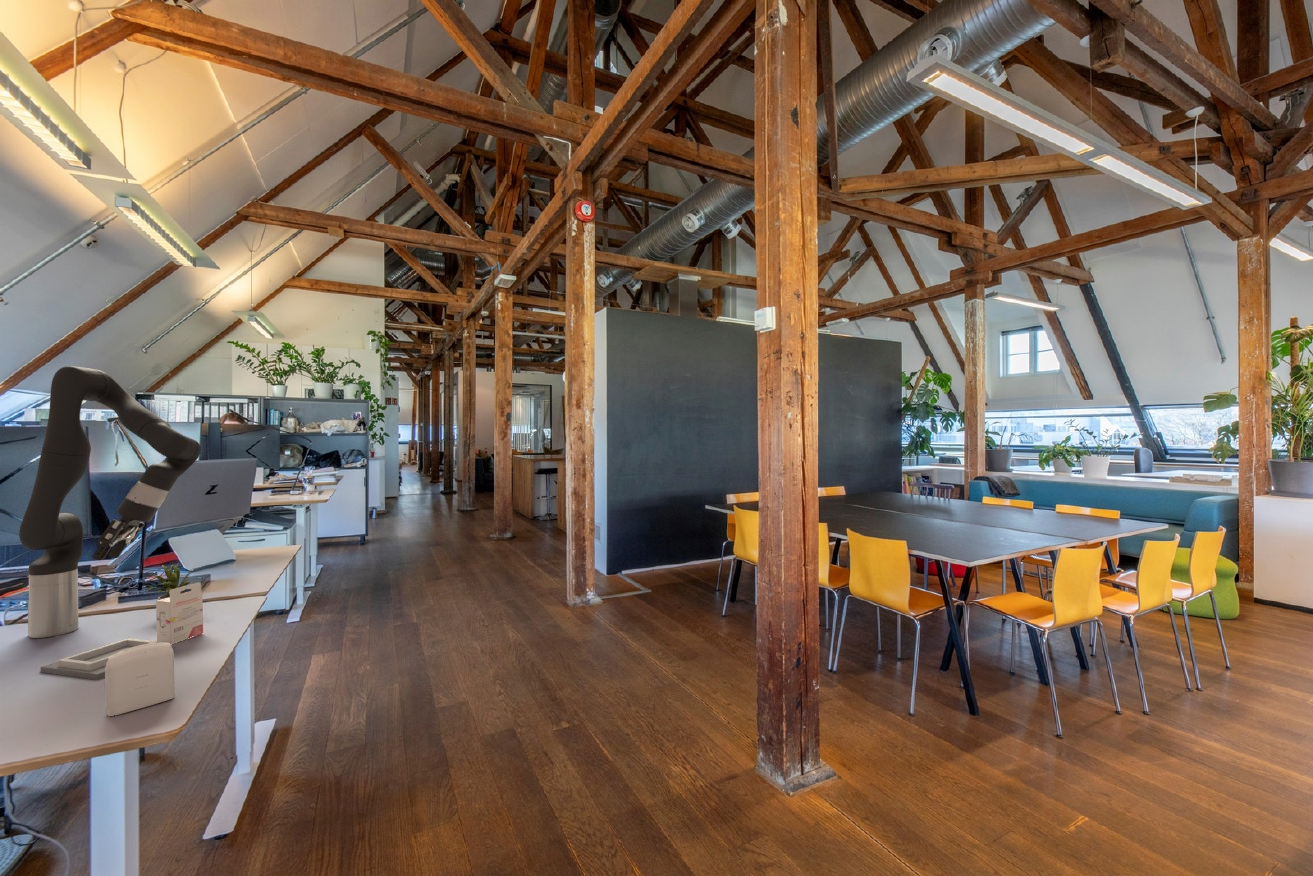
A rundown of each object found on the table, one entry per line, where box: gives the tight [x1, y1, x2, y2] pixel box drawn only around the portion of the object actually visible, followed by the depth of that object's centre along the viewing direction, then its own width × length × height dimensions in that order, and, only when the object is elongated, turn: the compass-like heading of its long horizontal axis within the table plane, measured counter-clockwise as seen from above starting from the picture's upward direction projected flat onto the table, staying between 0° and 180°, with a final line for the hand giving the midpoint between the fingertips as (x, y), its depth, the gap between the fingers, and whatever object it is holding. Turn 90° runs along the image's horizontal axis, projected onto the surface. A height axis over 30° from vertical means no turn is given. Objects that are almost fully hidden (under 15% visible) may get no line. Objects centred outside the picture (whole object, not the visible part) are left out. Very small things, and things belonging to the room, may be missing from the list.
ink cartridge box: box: [155, 582, 204, 645], centre depth 146 cm, size 9×5×15 cm, turn 168°
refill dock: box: [40, 637, 176, 680], centre depth 132 cm, size 18×16×3 cm
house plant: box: [141, 563, 199, 600], centre depth 165 cm, size 14×14×16 cm
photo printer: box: [104, 643, 176, 717], centre depth 110 cm, size 10×4×12 cm, turn 140°
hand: (104, 558), depth 143 cm, fingers open, 8 cm apart
